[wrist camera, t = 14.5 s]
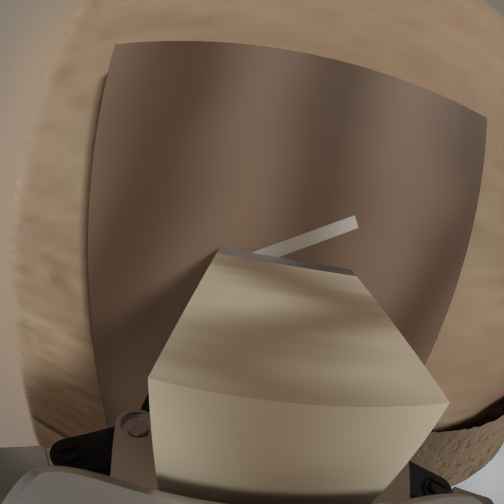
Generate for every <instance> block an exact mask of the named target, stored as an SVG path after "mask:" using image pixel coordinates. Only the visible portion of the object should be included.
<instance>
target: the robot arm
mask: <svg viewBox="0 0 504 504" xmlns="http://www.w3.org/2000/svg"><path fill="white" fill-rule="evenodd" d="M0 504H226V503H218V502H212V501H206V500H200V499H195V498H190V497H185V496H180V495H176V494H172V493H167V492H163V489H161V488H158V484H157V477H156V470H155V462H154V453H153V443H152V433H151V421H150V407H149V393H148V395H147V397H146V399H145V401H144V403H143V405H142V407H141V409H131V410H127V411H124V412H123V413H121V414H120V415H119V416H118V417H117V419H116V422H115V427H111V428H107V429H104V430H100V431H96V432H92V433H88V434H84V435H80V436H75V437H71V438H66V439H62V440H60V441H57V442H56V443H55V444H54V445H53V446H52V448H45V447H44V446H31V447H10V448H0ZM367 504H494V503H493V502H492V500H491V499H489V498H487V497H484V496H481V495H477V494H474V493H471V492H468V491H465V490H462V489H459V488H457V487H454V488H453V489H451V487H450V484H449V483H448V482H447V481H446V480H445V479H444V478H442V477H440V476H438V475H436V474H434V473H432V472H430V471H428V470H426V469H425V468H423V467H421V466H419V465H417V464H415V463H413V462H411V461H409V462H408V463H407V464H406V465H405V467H404V468H403V469H402V470H401V471H400V473H399V474H398V475H397V476H396V477H395V478H394V479H393V481H392V482H391V483H390V484H389V485H388V486H387V487H386V488H385V490H384V491H383V492H382V493H381V494H380V495H379V496H378V497H377V498H376V499H375V500H374V501H373V502H370V503H367Z"/></svg>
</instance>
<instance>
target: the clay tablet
mask: <svg viewBox="0 0 504 504" xmlns="http://www.w3.org/2000/svg"><path fill="white" fill-rule="evenodd" d="M503 442H504V415H503V416H501V417H500V418H499V419H497V420H495V421H491V422H489V423H486V424H485V425H482V426H481V427H473V428H471V429H462V430H460V431H457V430H455V431H447V432H440V433H438V432H431V433H430V434H429V435H428V436H427V438H426V439H425V441H424V442H423V443H422V445H421V446H420V447H419V449H418V450H417V451H416V453H415V454H414V455H413V457H412V458H411V459H410V460H409V461H411V462H413V463H415V464H417V465H419V466H421V467H423V468H425V469H426V470H428V471H430V472H432V473H434V474H436V475H438V476H440V477H442V478H444V479H445V480H446V481H447V482H448V483H449V484H450V486H453V485H455V484H458V483H460V482H462V481H464V480H466V479H467V478H469V477H470V476H472V475H473V474H474V473H476V472H477V471H479V470H480V469H481V468H482V467H484V466H485V465H486V464H487V463H488V462H489V461H490V460H492V458H493V457H494V456H495V455H496V453H497V452H498V451H499V449H500V447H501V446H502V444H503Z"/></svg>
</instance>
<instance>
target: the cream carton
mask: <svg viewBox="0 0 504 504" xmlns="http://www.w3.org/2000/svg"><path fill="white" fill-rule="evenodd" d="M148 390H149V407H150V421H151V433H152V443H153V453H154V462H155V470H156V477H157V484H158V488H161V489H163V492H167V493H172V494H176V495H180V496H185V497H190V498H195V499H200V500H206V501H212V502H218V503H226V504H367V503H370V502H373V501H374V500H375V499H376V498H377V497H378V496H379V495H380V494H381V493H382V492H383V491H384V490H385V488H386V487H387V486H388V485H389V484H390V483H391V482H392V481H393V479H394V478H395V477H396V476H397V475H398V474H399V473H400V471H401V470H402V469H403V468H404V467H405V465H406V464H407V463H408V462H409V460H410V459H411V458H412V457H413V455H414V454H415V453H416V451H417V450H418V449H419V447H420V446H421V445H422V443H423V442H424V441H425V439H426V438H427V436H428V435H429V434H430V432H431V431H432V429H433V428H434V426H435V425H436V423H437V422H438V420H439V419H440V417H441V416H442V414H443V413H444V411H445V410H446V408H447V406H448V405H449V401H448V400H447V398H446V396H445V395H444V394H443V392H442V391H441V389H440V388H439V386H438V385H437V383H436V382H435V380H434V379H433V377H432V376H431V374H430V373H429V372H428V370H427V369H426V367H425V366H424V364H423V363H422V362H421V360H420V359H419V357H418V356H417V355H416V353H415V352H414V351H413V349H412V348H411V346H410V345H409V344H408V342H407V341H406V340H405V338H404V337H403V335H402V334H401V333H400V331H399V330H398V329H397V327H396V326H395V325H394V323H393V322H392V321H391V320H390V318H389V317H388V316H387V314H386V313H385V312H384V310H383V309H382V308H381V306H380V305H379V304H378V303H377V301H376V300H375V299H374V297H373V296H372V295H371V294H370V292H369V291H368V290H367V289H366V287H365V286H364V285H363V284H362V282H361V281H360V280H359V279H358V277H357V276H356V275H355V274H354V272H353V271H352V270H351V269H345V268H339V267H333V266H327V265H321V264H315V263H309V262H303V261H297V260H291V259H285V258H279V257H273V256H267V255H261V254H255V253H249V252H243V251H237V250H231V249H225V248H219V250H218V251H217V253H216V255H215V257H214V258H213V260H212V262H211V264H210V265H209V267H208V269H207V271H206V272H205V274H204V276H203V278H202V280H201V281H200V283H199V285H198V287H197V288H196V290H195V292H194V294H193V296H192V297H191V299H190V301H189V303H188V305H187V306H186V308H185V310H184V312H183V314H182V315H181V317H180V319H179V321H178V323H177V325H176V326H175V328H174V330H173V332H172V334H171V336H170V337H169V339H168V341H167V343H166V345H165V347H164V348H163V350H162V352H161V354H160V356H159V358H158V360H157V362H156V363H155V365H154V367H153V369H152V371H151V373H150V375H149V377H148Z"/></svg>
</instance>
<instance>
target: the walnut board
mask: <svg viewBox="0 0 504 504" xmlns="http://www.w3.org/2000/svg"><path fill="white" fill-rule="evenodd" d="M486 128H487V118H485V117H484V116H482V115H480V114H478V113H476V112H474V111H472V110H470V109H468V108H466V107H464V106H462V105H460V104H458V103H456V102H454V101H452V100H450V99H447V98H445V97H443V96H441V95H438V94H436V93H434V92H431V91H429V90H427V89H424V88H422V87H419V86H417V85H414V84H412V83H409V82H406V81H403V80H401V79H398V78H395V77H392V76H389V75H386V74H383V73H380V72H377V71H374V70H371V69H367V68H364V67H360V66H357V65H353V64H350V63H346V62H342V61H338V60H334V59H330V58H325V57H321V56H316V55H311V54H306V53H301V52H296V51H290V50H284V49H278V48H271V47H263V46H255V45H246V44H236V43H222V42H203V41H158V42H138V43H125V44H115V47H114V51H113V55H112V58H111V62H110V66H109V70H108V74H107V79H106V83H105V88H104V93H103V98H102V103H101V108H100V114H99V119H98V126H97V132H96V139H95V146H94V154H93V163H92V173H91V184H90V198H89V217H88V280H89V300H90V313H91V325H92V335H93V343H94V351H95V359H96V366H97V372H98V378H99V384H100V390H101V395H102V400H103V405H104V410H105V414H106V419H107V423H108V427H109V428H111V427H115V422H116V419H117V417H118V416H119V415H120V414H121V413H123V412H124V411H127V410H131V409H141V407H142V405H143V403H144V401H145V399H146V397H147V395H148V393H149V390H148V377H149V375H150V373H151V371H152V369H153V367H154V365H155V363H156V362H157V360H158V358H159V356H160V354H161V352H162V350H163V348H164V347H165V345H166V343H167V341H168V339H169V337H170V336H171V334H172V332H173V330H174V328H175V326H176V325H177V323H178V321H179V319H180V317H181V315H182V314H183V312H184V310H185V308H186V306H187V305H188V303H189V301H190V299H191V297H192V296H193V294H194V292H195V290H196V288H197V287H198V285H199V283H200V281H201V280H202V278H203V276H204V274H205V272H206V271H207V269H208V267H209V265H210V264H211V262H212V260H213V258H214V257H215V255H216V253H217V251H218V250H219V248H225V249H231V250H237V251H243V252H249V253H255V254H261V255H267V256H273V257H279V258H285V259H291V260H297V261H303V262H309V263H315V264H321V265H327V266H333V267H339V268H345V269H351V270H352V271H353V272H354V274H355V275H356V276H357V277H358V279H359V280H360V281H361V282H362V284H363V285H364V286H365V287H366V289H367V290H368V291H369V292H370V294H371V295H372V296H373V297H374V299H375V300H376V301H377V303H378V304H379V305H380V306H381V308H382V309H383V310H384V312H385V313H386V314H387V316H388V317H389V318H390V320H391V321H392V322H393V323H394V325H395V326H396V327H397V329H398V330H399V331H400V333H401V334H402V335H403V337H404V338H405V340H406V341H407V342H408V344H409V345H410V346H411V348H412V349H413V351H414V352H415V353H416V355H417V356H418V357H419V359H420V360H421V362H422V363H423V364H424V366H425V363H426V361H427V359H428V357H429V355H430V353H431V350H432V348H433V346H434V344H435V341H436V339H437V336H438V334H439V332H440V329H441V327H442V324H443V322H444V319H445V316H446V314H447V311H448V308H449V306H450V303H451V300H452V297H453V294H454V291H455V288H456V285H457V282H458V279H459V276H460V273H461V269H462V266H463V262H464V259H465V255H466V251H467V248H468V244H469V240H470V236H471V231H472V227H473V222H474V218H475V213H476V208H477V203H478V197H479V191H480V185H481V178H482V171H483V163H484V153H485V142H486Z"/></svg>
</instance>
